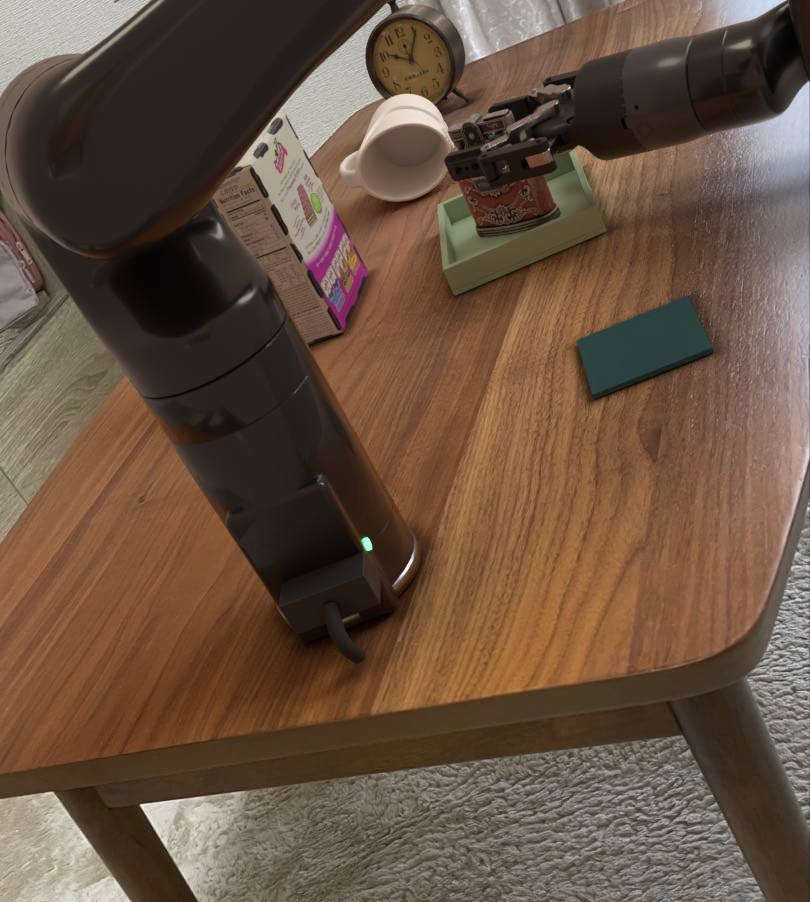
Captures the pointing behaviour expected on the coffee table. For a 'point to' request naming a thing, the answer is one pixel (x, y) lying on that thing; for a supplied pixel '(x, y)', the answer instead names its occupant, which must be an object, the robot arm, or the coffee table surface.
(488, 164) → the robot arm
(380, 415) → the coffee table surface
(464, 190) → the lighter
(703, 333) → the mat
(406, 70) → the alarm clock
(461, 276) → the tray
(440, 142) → the mug
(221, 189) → the candy bar box
